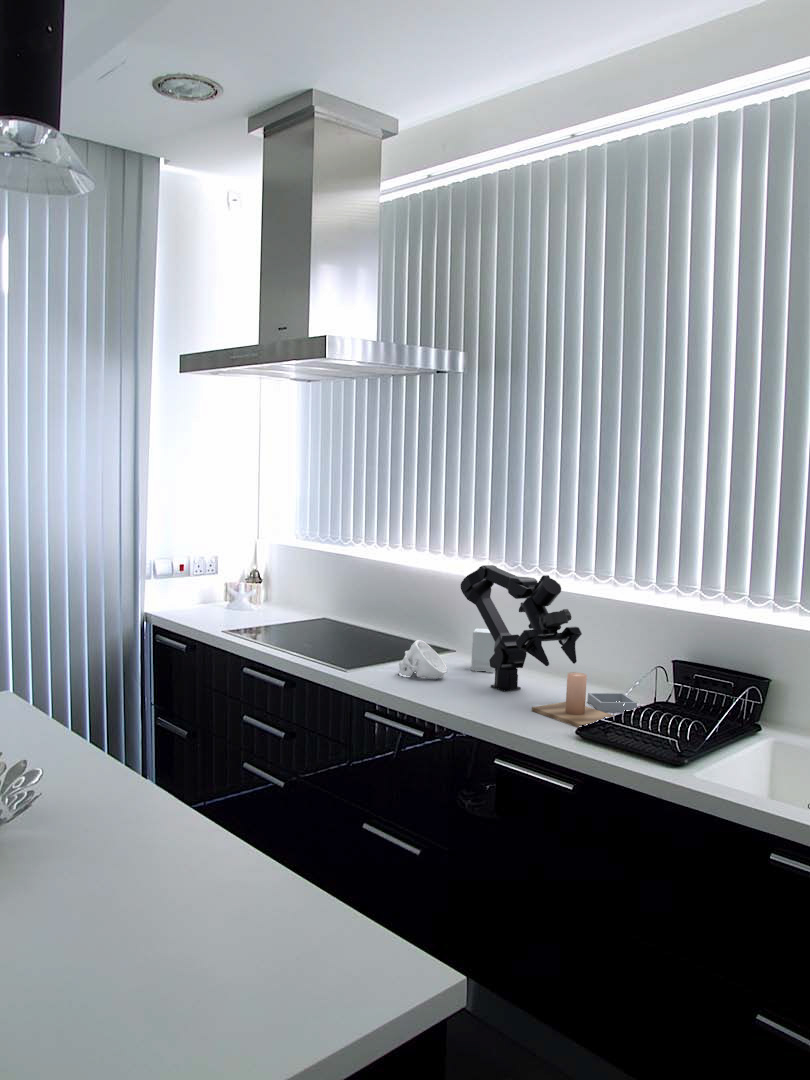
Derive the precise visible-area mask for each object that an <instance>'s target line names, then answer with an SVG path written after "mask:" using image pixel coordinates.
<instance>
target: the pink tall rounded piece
mask: <svg viewBox="0 0 810 1080" xmlns="http://www.w3.org/2000/svg"><path fill="white" fill-rule="evenodd" d="M566 676H567V679H566V693H565V702H566V708H565V712H566V713H569V714H574V715H581V714H584V713H585V706H586V697H587V683H588V682H587V680H588V678H587V677H588V675H587V674H586V673H583V672H577V671H576V672H567V675H566Z"/></svg>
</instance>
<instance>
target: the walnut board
mask: <svg viewBox="0 0 810 1080" xmlns="http://www.w3.org/2000/svg"><path fill="white" fill-rule="evenodd" d="M565 708H566V701H562V702H556V703H551V704H550V703H548V704H544V705H543V704H542V705H538V706H531V712H534V713H536V714H538V715H542V716H545V717H548V718H551V719H554V720H557V721H559V722H562V723H565V724H568V725H571V726H573V727H577V728H579V726H581V725H586V724H590V723H593V722H595V721H597V720H601V719H603V718H604V717H612V716H615V715H613V714H612V713H609V712H602V711H599V710H597V709H596V708H594V707H593V708H592V707H590V706H589V707H588V706H586V705H585V713H584V714H581V715H574V714H569V713H566V712H565Z"/></svg>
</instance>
